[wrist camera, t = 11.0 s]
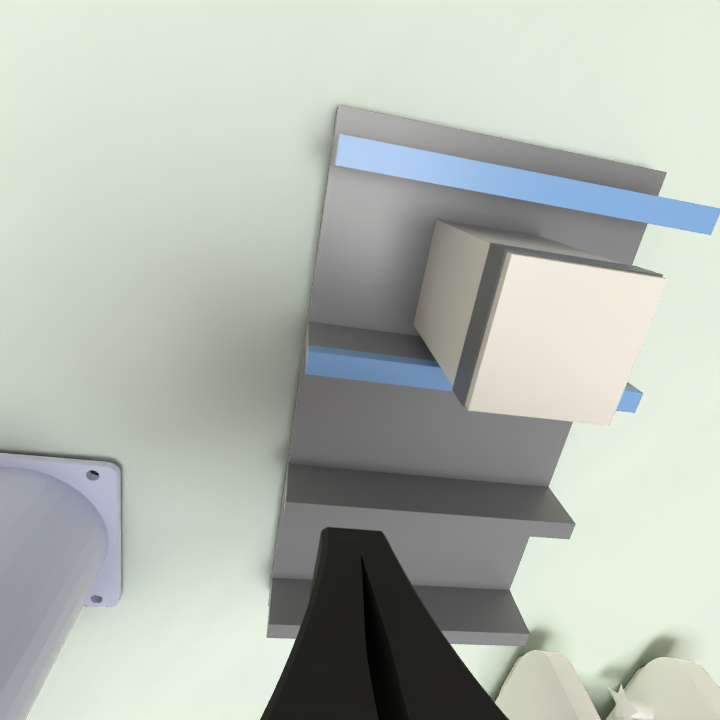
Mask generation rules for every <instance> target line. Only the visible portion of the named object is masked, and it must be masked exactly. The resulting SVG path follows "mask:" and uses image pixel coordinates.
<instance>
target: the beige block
mask: <svg viewBox="0 0 720 720" xmlns="http://www.w3.org/2000/svg"><path fill="white" fill-rule="evenodd" d="M662 276H663V275H662V274H659V273H656V272H653V271H650V270H646V269H643V268H640V267H637V266H631V265H625V264H621V263H618V262H615V261H612V260H609V259H606V258H603V257H600V256H597V255H594V254H591V253H588V252H585V251H582V250H579V249H576V248H573V247H570V246H567V245H564V244H561V243H558V242H555V241H552V240H549V239H546V238H543V237H540V236H535V235H529V234H523V233H517V232H511V231H505V230H499V229H493V228H487V227H481V226H475V225H469V224H464V223H458V222H452V221H446V220H440V219H436V223H435V227H434V232H433V237H432V241H431V246H430V251H429V255H428V260H427V264H426V269H425V274H424V278H423V283H422V287H421V292H420V297H419V301H418V306H417V310H416V315H415V320H414V324H413V325H414V326H415V328H416V329H417V331H418V333H419V334H420V336H421V337H422V339H423V340H424V342H425V343H426V345H427V347H428V348H429V350H430V351H431V353H432V354H433V356H434V358H435V359H436V361H437V362H438V364H439V365H440V367H441V369H442V370H443V372H444V373H445V375H446V376H447V378H448V380H449V381H450V383H451V384H452V386H453V388H452V391H453V392H454V394H455V395H456V397H457V399H458V400H459V402H460V403H461V405H462V407H466V408H467V409H468V410H469V411H478V412H487V413H497V414H506V415H516V416H525V417H534V418H544V419H553V420H563V421H572V422H582V423H591V424H600V425H610V424H611V421H612V419H613V416H614V414H615V411H616V409H617V406H618V404H619V401H620V399H621V396H622V394H623V392H624V389H625V387H626V384H627V382H628V379H629V377H630V374H631V372H632V369H633V367H634V364H635V362H636V359H637V357H638V354H639V352H640V349H641V347H642V344H643V342H644V339H645V337H646V334H647V332H648V330H649V327H650V325H651V322H652V320H653V317H654V315H655V312H656V310H657V307H658V305H659V302H660V300H661V297H662V295H663V292H664V290H665V287H666V285H667V282H668V280H669V279H666V278H663V277H662Z"/></svg>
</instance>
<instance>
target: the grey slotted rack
mask: <svg viewBox="0 0 720 720" xmlns="http://www.w3.org/2000/svg"><path fill="white" fill-rule="evenodd" d="M666 173H667V172H663V171H658V170H653V169H648V168H643V167H639V166H634V165H629V164H624V163H619V162H614V161H609V160H605V159H600V158H595V157H590V156H585V155H580V154H575V153H571V152H566V151H561V150H556V149H551V148H546V147H541V146H537V145H532V144H527V143H522V142H517V141H512V140H507V139H503V138H498V137H493V136H488V135H483V134H478V133H473V132H469V131H464V130H459V129H454V128H449V127H444V126H439V125H435V124H430V123H425V122H420V121H415V120H410V119H406V118H401V117H396V116H391V115H386V114H381V113H376V112H372V111H367V110H362V109H357V108H352V107H347V106H342V105H339V106H338V107H337V113H336V120H335V127H334V134H333V141H332V149H331V156H330V163H329V170H328V177H327V184H326V191H325V199H324V206H323V213H322V220H321V227H320V234H319V241H318V249H317V256H316V263H315V270H314V277H313V284H312V292H311V299H310V306H309V313H308V320H307V327H306V334H305V342H304V349H303V356H302V363H301V370H300V377H299V384H298V392H297V399H296V406H295V413H294V420H293V427H292V435H291V442H290V449H289V456H288V463H287V470H286V477H285V485H284V492H283V499H282V506H281V513H280V520H279V527H278V535H277V542H276V549H275V556H274V563H273V570H272V578H271V585H270V593H269V605H268V606H269V615H268V626H267V638H290V639H296V637H297V635H298V632H299V629H300V626H301V624H302V621H303V618H304V616H305V613H306V610H307V607H308V604H309V600H310V590H311V585H312V579H313V574H314V568H315V563H316V557H317V552H318V546H319V540H320V535H321V531H322V530H323V529H325V528H326V527H336V528H349V529H363V530H376V531H382V532H383V533H384V535H385V536H386V538H387V540H388V542H389V544H390V546H391V548H392V550H393V552H394V554H395V555H396V557H397V559H398V561H399V563H400V565H401V566H402V568H403V570H404V572H405V573H406V575H407V577H408V579H409V581H410V582H411V584H412V586H413V587H414V589H415V591H416V592H417V594H418V596H419V597H420V599H421V600H422V602H423V604H424V605H425V607H426V608H427V610H428V612H429V613H430V615H431V616H432V618H433V620H434V621H435V623H436V624H437V626H438V627H439V629H440V630H441V632H442V633H443V635H444V636H445V638H446V639H447V640H448V642H449V643H450V644H473V645H504V646H525V645H526V642H527V640H528V637H529V635H530V633H529V631H528V629H527V627H526V625H525V622H524V620H523V618H522V616H521V614H520V612H519V610H518V607H517V605H516V603H515V601H514V599H513V597H512V595H511V592H510V587H511V584H512V582H513V579H514V576H515V574H516V571H517V569H518V566H519V563H520V561H521V558H522V555H523V553H524V550H525V547H526V545H527V542H528V539H529V537H530V536H532V537H546V538H560V539H570V536H571V534H572V531H573V529H574V527H575V523H574V521H573V520H572V519H571V517H570V516H569V514H568V513H567V512H566V510H565V509H564V508H563V506H562V505H561V504H560V502H559V501H558V499H557V498H556V497H555V495H554V494H553V493H552V491H551V490H550V489H549V487H548V486H549V484H550V481H551V478H552V476H553V473H554V470H555V468H556V465H557V462H558V460H559V457H560V454H561V452H562V449H563V446H564V444H565V441H566V439H567V436H568V433H569V431H570V428H571V425H572V423H573V422H572V421H563V420H553V419H544V418H534V417H525V416H516V415H506V414H497V413H487V412H478V411H469V410H468V409H467V408H466V407H462V405H461V403H460V402H459V400H458V399H457V397H456V395H455V394H454V392H453V391H452V388H453V386H452V384H451V383H450V381H449V380H448V378H447V376H446V375H445V373H444V372H443V370H442V369H441V367H440V365H439V364H438V362H437V361H436V359H435V358H434V356H433V354H432V353H431V351H430V350H429V348H428V347H427V345H426V343H425V342H424V340H423V339H422V337H421V336H420V334H419V333H418V331H417V329H416V328H415V326H414V325H413V324H414V320H415V315H416V310H417V306H418V301H419V297H420V292H421V287H422V283H423V278H424V274H425V269H426V264H427V260H428V255H429V251H430V246H431V241H432V237H433V232H434V227H435V223H436V219H440V220H446V221H452V222H458V223H464V224H469V225H475V226H481V227H487V228H493V229H499V230H505V231H511V232H517V233H523V234H529V235H535V236H540V237H543V238H546V239H549V240H552V241H555V242H558V243H561V244H564V245H567V246H570V247H573V248H576V249H579V250H582V251H585V252H588V253H591V254H594V255H597V256H600V257H603V258H606V259H609V260H612V261H615V262H618V263H621V264H625V265H631V266H632V263H633V261H634V258H635V255H636V253H637V250H638V248H639V245H640V242H641V240H642V237H643V234H644V232H645V229H646V226H647V224H648V223H649V224H654V225H660V226H665V227H670V228H676V229H681V230H687V231H692V232H697V233H703V234H708V235H711V233H712V231H713V228H714V226H715V224H716V221H717V219H718V217H719V214H720V209H719V208H714V207H709V206H704V205H699V204H694V203H689V202H684V201H679V200H674V199H669V198H664V197H658V194H659V192H660V189H661V187H662V184H663V181H664V179H665V176H666ZM642 395H643V393H642V392H641V391H639V390H638V389H637V388H635V387H634V386H632V385H631V384H629V383H628V382H627V384H626V387H625V389H624V392H623V394H622V396H621V399H620V401H619V404H618V406H617V409H616V411H624V412H632V413H635V411H636V409H637V407H638V404H639V402H640V400H641V397H642Z"/></svg>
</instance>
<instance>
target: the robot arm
mask: <svg viewBox="0 0 720 720" xmlns="http://www.w3.org/2000/svg"><path fill="white" fill-rule="evenodd" d="M90 470H93V471H96V472H97V473H98V474H99V475H94V474H92V473H91V472H90ZM121 594H122V587H121V472H120V469H119V467H118V466H117V465H115V464H114V463H111V462H104V461H92V460H80V459H68V458H56V457H45V456H33V455H21V454H9V453H0V720H25V719H26V717H27V715H28V713H29V711H30V709H31V707H32V705H33V703H34V701H35V699H36V697H37V695H38V693H39V691H40V689H41V687H42V685H43V683H44V681H45V679H46V677H47V675H48V673H49V671H50V669H51V667H52V665H53V664H54V662H55V660H56V658H57V656H58V654H59V652H60V650H61V648H62V646H63V644H64V642H65V640H66V638H67V636H68V634H69V632H70V630H71V628H72V626H73V624H74V622H75V620H76V618H77V616H78V614H79V612H80V610H81V608H82V606H105V607H109V606H114V605H116V604H117V603H118V602H119V600H120V598H121ZM97 595H99V596H97ZM260 720H509V719H508V718H507V717H506V715H505V714H504V713H503V712H502V711H501V710H500V708H499V707H498V706H497V705H496V704H495V703H494V701H493V700H492V699H491V698H490V696H489V695H488V694H487V693H486V691H485V690H484V689H483V688H482V686H481V685H480V684H479V683H478V681H477V680H476V679H475V677H474V676H473V675H472V674H471V672H470V671H469V670H468V668H467V667H466V666H465V664H464V663H463V661H462V660H461V659H460V657H459V656H458V655H457V653H456V652H455V650H454V649H453V648H452V646H451V645H450V643H449V642H448V640H447V639H446V638H445V636H444V635H443V633H442V632H441V630H440V629H439V627H438V626H437V624H436V623H435V621H434V620H433V618H432V616H431V615H430V613H429V612H428V610H427V608H426V607H425V605H424V604H423V602H422V600H421V599H420V597H419V596H418V594H417V592H416V591H415V589H414V587H413V586H412V584H411V582H410V581H409V579H408V577H407V575H406V573H405V572H404V570H403V568H402V566H401V565H400V563H399V561H398V559H397V557H396V555H395V554H394V552H393V550H392V548H391V546H390V544H389V542H388V540H387V538H386V536H385V535H384V533H383V532H382V531H376V530H363V529H349V528H336V527H326V528H325V529H323V530H322V531H321V535H320V540H319V546H318V552H317V557H316V563H315V568H314V574H313V579H312V585H311V590H310V600H309V604H308V607H307V610H306V613H305V616H304V618H303V621H302V624H301V626H300V629H299V632H298V635H297V637H296V640H295V643H294V645H293V648H292V650H291V653H290V655H289V658H288V660H287V663H286V665H285V667H284V670H283V672H282V674H281V677H280V679H279V681H278V683H277V685H276V688H275V690H274V692H273V694H272V696H271V699H270V701H269V703H268V705H267V707H266V709H265V711H264V713H263V715H262V717H261V719H260Z"/></svg>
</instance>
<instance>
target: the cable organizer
mask: <svg viewBox="0 0 720 720" xmlns="http://www.w3.org/2000/svg"><path fill="white" fill-rule="evenodd" d="M608 688H609V687H608ZM609 690H610V692H611V694H612V696H613V698H614V700H615V702H616V706H615V707H614V709H613V710H612V712H611V713H610V714H609V716H608V717H607V718H606V720H720V688H719V686H718V685H717V684H716V682H715V681H714V680H713V679H712V677H711V676H710V675H709V673H708V672H707V671H706V670H705V669H704V668H703V667H701V666H700V665H699V664H697V663H695V662H693V661H689V660H682V659H675V658H668V657H659V658H656V659H653V660H652V661H650V662H649V663H648V664H646V665H645V666H644V667H641V668H639V669H638V670H637V672H636V673H635V674H634V676H633V677H632V678H631V680H630V681H629V683H628V684H627V685H626V687H625V688H624V689H623V687H622V684H621V686H620V689H619V691H618V693H617V692H615V691H614V690H612V689H610V688H609ZM495 704H496V705H497V706H498V707H499V708H500V710H501V711H502V712H503V713H504V714H505V715H506V717H507V718H508V719H509V720H601V718H600V717H599V715H598V713H597V711H596V709H595V707H594V705H593V703H592V701H591V699H590V697H589V696H588V694H587V692H586V690H585V688H584V686H583V684H582V682H581V680H580V678H579V676H578V675H577V673H576V671H575V669H574V667H573V665H572V664H571V662H570V661H569V660H568V659H567V658H566V657H565V656H564V655H562V654H560V653H555V652H548V651H541V650H532V651H529V652H527V653H526V654H525V655H524V656H520V657H519V658H518V659H517V660H516V662H515V663H514V665H513V667H512V669H511V671H510V673H509V674H508V676H507V678H506V680H505V682H504V683H503V685H502V687H501V689H500V693H499V696H498V698H497V699H496V701H495Z"/></svg>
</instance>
